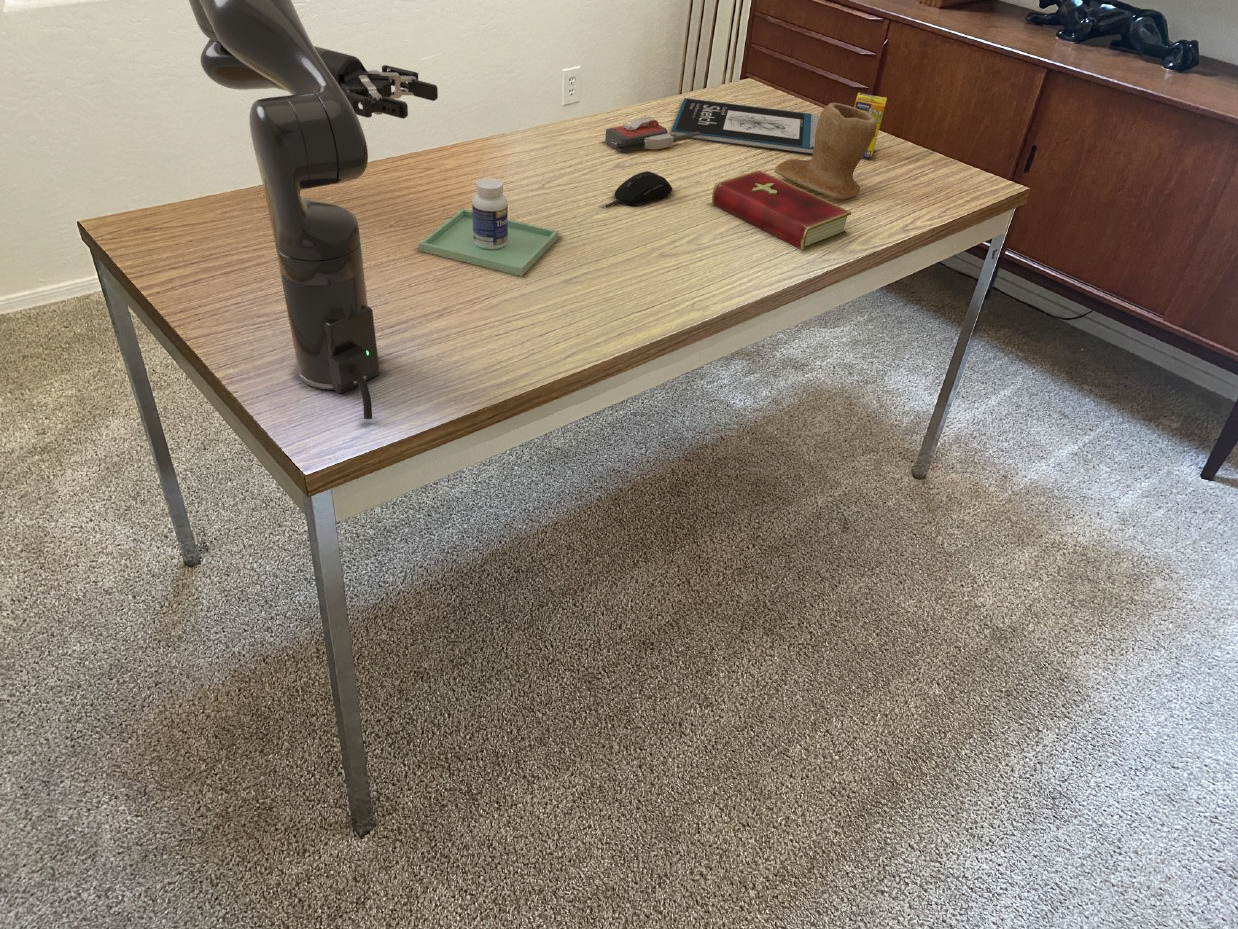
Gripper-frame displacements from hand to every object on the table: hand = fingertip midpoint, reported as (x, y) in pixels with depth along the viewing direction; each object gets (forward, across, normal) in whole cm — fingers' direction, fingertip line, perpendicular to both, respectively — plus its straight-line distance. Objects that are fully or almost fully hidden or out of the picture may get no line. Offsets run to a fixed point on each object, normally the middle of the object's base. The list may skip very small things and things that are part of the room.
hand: (421, 101), depth 131 cm
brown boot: (+55, +51, +19) cm, 77 cm away
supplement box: (+59, +73, +19) cm, 96 cm away
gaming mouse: (+26, +29, +20) cm, 43 cm away
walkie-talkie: (+19, +55, +20) cm, 62 cm away
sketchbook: (+35, +74, +20) cm, 84 cm away
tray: (+12, 0, +20) cm, 23 cm away
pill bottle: (+12, 0, +19) cm, 23 cm away
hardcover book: (+51, +33, +18) cm, 63 cm away
